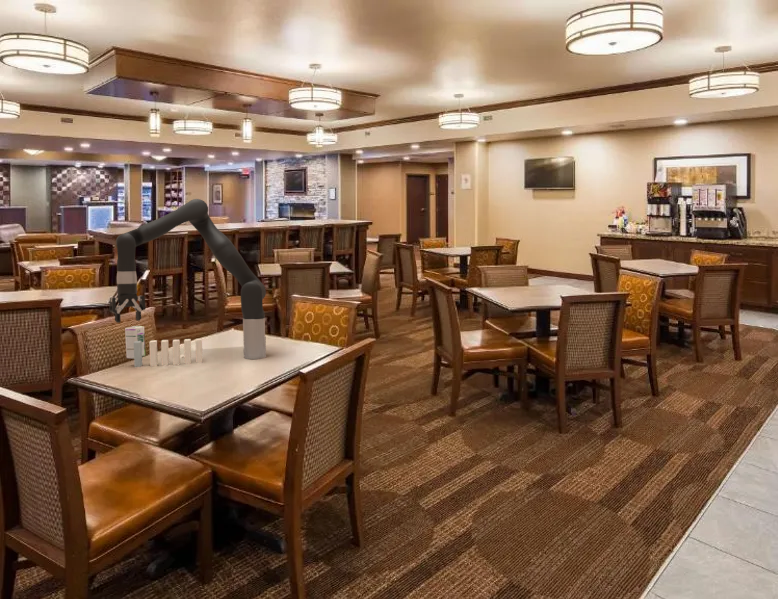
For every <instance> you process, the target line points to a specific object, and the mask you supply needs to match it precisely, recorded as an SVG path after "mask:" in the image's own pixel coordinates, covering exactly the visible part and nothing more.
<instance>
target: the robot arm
mask: <svg viewBox="0 0 778 599" xmlns="http://www.w3.org/2000/svg"><path fill="white" fill-rule="evenodd" d="M187 222H189V223H190V224H191V225H192V226H193V227H194V228H195V230H196V231H197V232H198V233H199V234H200V235H201V237H202V238H203V240H204V241H205V244H206V245H207V246H208V248H209V249H210V251H211V252H212V254H213V255H214V256H215V258H216V259H217V261H218V262H219V264H220V265H221V266H222V267H223V268H224V269H225V270H226V271H227V272H229V273H230V274H231V276H233V277H234V278H235V279H236V280H237V282H238V283H239V285H240V286H241V289H240V305H241V306H240V307H241V309H240V310H241V313H242V330H243V331H242V336H243V337H242V339H243V341H242V342H243V358H244V359H246V360H260V359H265V358H267V348H266V345H267V344H266V343H267V342H266V322H265V320H266V316H265V315H266V312H265V310H264V307H263V303H264V302H263V300H264V298H265V297H266V294H267V290H266V287H265V284H263V282H261V281H260V279H259V278H258V277H257V276H256V275H255V274H254V273H253V271H252V270H251V269H250V267H249V266H248V264H247V263H246V261H245V260H244V258H243V257H242V254H240V252H239V251H238V249H237V247H236V246H235V245H234V244H233V242H232V241H231V240H230V238H228V236H226V234H224V233H223V232H222V231H220V229H218V228H217V226H216V225H215V223H214V222H213V220H212V219H211V217H210V214H209V206H208V204H207V203H206V202H205V201H204V200H203V199H201V198H200V199H199V198H193V199H191V200H189V201H188V202H186V203H185V204H183V205H181V206H180V207H178V208H177V209H175V210H172V211H171V212H168V214H165V215H163V216H161V217H159V218H156V219H155V220H152V221H150V222H147V223H145V224H143V225H140V226H139V227H137V228H135V229H132V230H129V231H127V232H124V233H122V234H120V235H118V236H117V237H116V239H115V244H116V251H117V260H116V272H117V273H116V290H117V291H116V293H117V297H114V296H111V297H109V312H110V313H113V314H114V321H115V322H116V323H117V324H120V323H121V322H122V321H121V311H122V310H124V308H129V307H130V308H134V310H135V320H136V321H138V322H140V321H141V319H142V311H145V310H146V300H145V299H146V298H145V295H138V294H137V293H138V276H137V268H136V265H137V264H136V248H137V247H138V246H140V245H143V244H145V243H148V242H151V241H154V240H157V239H158V238H160V237H162V236H164V235H166V234H167V233H169V232H171V231H172V230H174V228H176V227H177V228H178V226H180V225H182V224H184V223H187ZM137 301H138V302H139V303H138V302H137ZM117 302H118V303H117ZM116 303H117V304H116Z"/></svg>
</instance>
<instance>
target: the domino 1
mask: <svg viewBox="0 0 778 599" xmlns="http://www.w3.org/2000/svg"><path fill="white" fill-rule="evenodd" d="M133 363H134V368H141V367H142V366H143V357H142V341H135V342H134V361H133Z"/></svg>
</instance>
